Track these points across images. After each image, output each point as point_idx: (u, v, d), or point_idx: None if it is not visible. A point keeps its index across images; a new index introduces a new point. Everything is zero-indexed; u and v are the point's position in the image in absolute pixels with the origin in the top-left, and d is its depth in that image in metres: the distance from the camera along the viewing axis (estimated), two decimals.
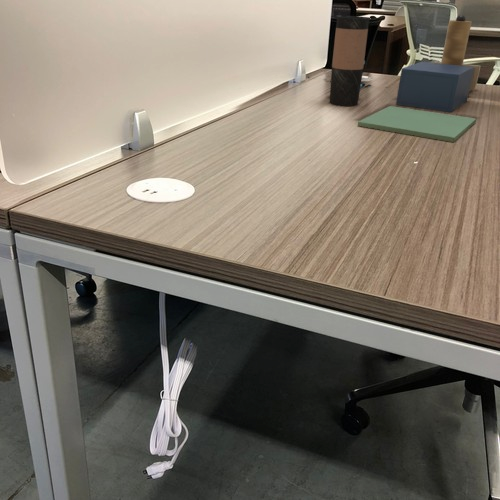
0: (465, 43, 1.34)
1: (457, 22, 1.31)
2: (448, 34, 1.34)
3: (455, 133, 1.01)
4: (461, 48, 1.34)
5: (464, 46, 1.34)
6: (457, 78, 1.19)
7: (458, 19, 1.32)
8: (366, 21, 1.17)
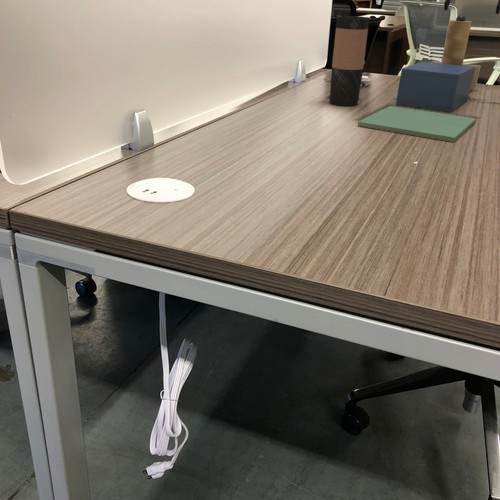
0: (465, 43, 1.34)
1: (457, 22, 1.31)
2: (448, 34, 1.34)
3: (455, 133, 1.01)
4: (461, 48, 1.34)
5: (464, 46, 1.34)
6: (457, 78, 1.19)
7: (458, 19, 1.32)
8: (366, 21, 1.17)
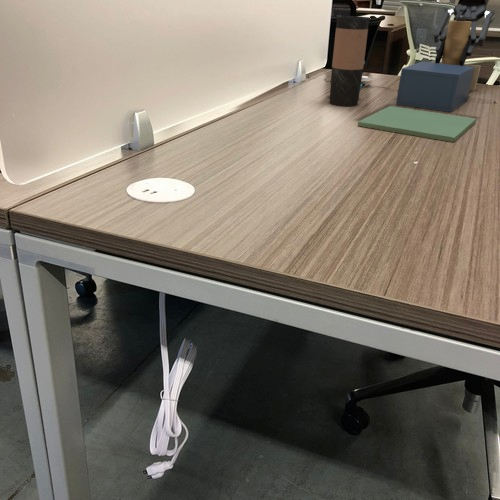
0: (465, 43, 1.34)
1: (457, 22, 1.31)
2: (448, 34, 1.34)
3: (455, 133, 1.01)
4: (461, 48, 1.34)
5: (464, 46, 1.34)
6: (457, 78, 1.19)
7: (458, 19, 1.32)
8: (366, 21, 1.17)
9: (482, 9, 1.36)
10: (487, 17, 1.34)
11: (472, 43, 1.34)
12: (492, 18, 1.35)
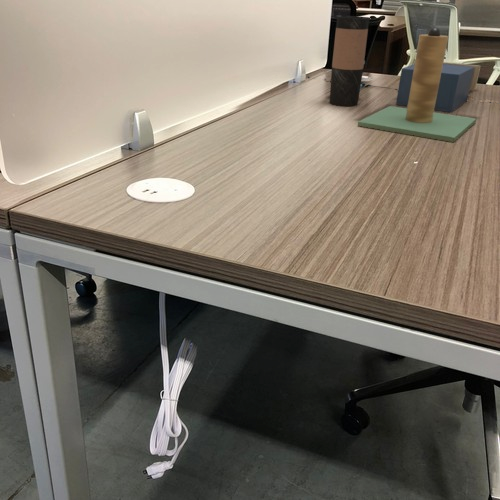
0: (440, 64, 1.03)
1: (429, 37, 1.00)
2: (418, 53, 1.03)
3: (455, 133, 1.01)
4: (435, 71, 1.03)
5: (439, 68, 1.03)
6: (457, 78, 1.19)
7: (431, 33, 1.01)
8: (366, 21, 1.17)
9: None
10: None
11: None
12: None
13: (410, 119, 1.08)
